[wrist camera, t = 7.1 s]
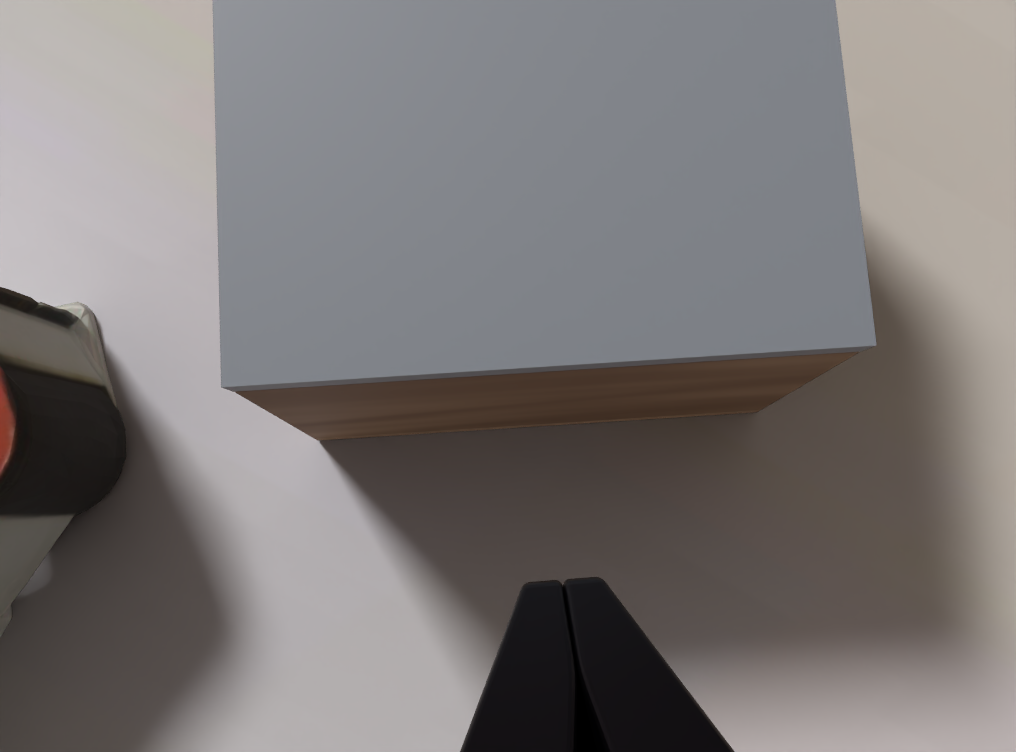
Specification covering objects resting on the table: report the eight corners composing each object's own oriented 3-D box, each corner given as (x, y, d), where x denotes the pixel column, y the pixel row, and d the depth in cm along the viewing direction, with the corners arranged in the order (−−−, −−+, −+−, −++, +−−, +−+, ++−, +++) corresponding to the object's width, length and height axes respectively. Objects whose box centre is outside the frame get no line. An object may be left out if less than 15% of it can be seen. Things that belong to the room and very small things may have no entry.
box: (757, 412, 20) (859, 351, 14) (318, 440, 20) (234, 392, 14) (717, 91, 21) (794, -84, 16) (311, 117, 21) (234, -50, 15)
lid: (861, 351, 14) (876, 345, 13) (233, 391, 14) (221, 387, 13) (806, -110, 15) (818, -134, 14) (222, -75, 15) (210, -98, 14)
